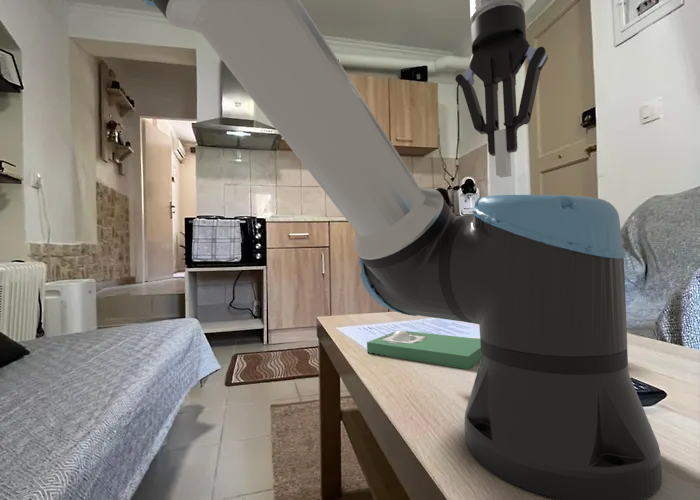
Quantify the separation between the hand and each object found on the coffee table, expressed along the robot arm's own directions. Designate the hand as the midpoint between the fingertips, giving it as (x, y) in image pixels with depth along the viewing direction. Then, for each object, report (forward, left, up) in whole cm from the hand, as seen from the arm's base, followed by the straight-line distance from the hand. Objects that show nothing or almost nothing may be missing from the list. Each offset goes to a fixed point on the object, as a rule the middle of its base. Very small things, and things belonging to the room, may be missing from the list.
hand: (503, 175), depth 54 cm
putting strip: (+5, +16, -29) cm, 34 cm away
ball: (+4, +21, -28) cm, 35 cm away
